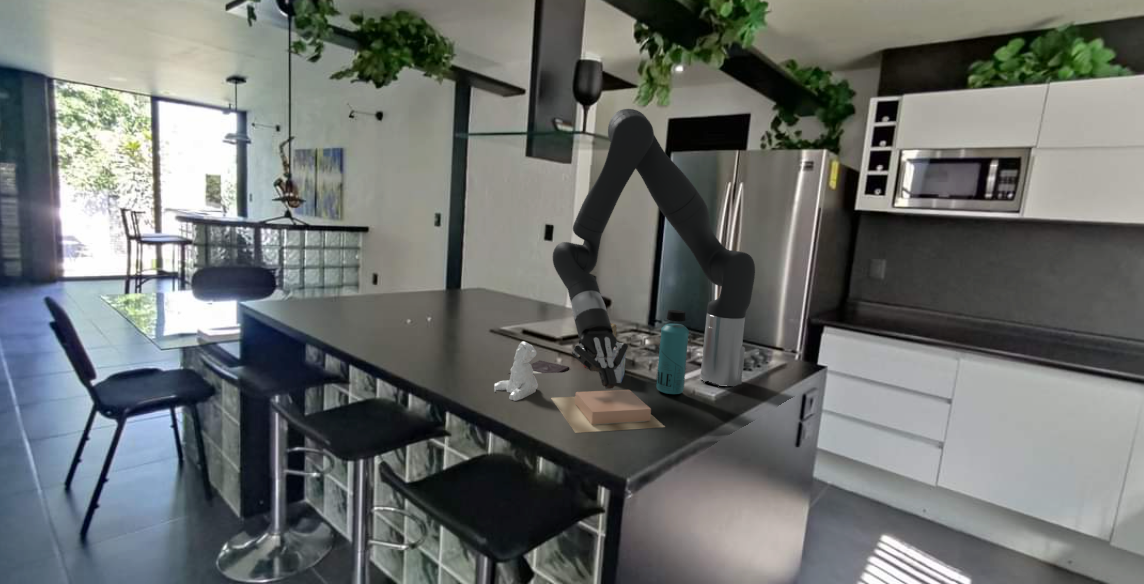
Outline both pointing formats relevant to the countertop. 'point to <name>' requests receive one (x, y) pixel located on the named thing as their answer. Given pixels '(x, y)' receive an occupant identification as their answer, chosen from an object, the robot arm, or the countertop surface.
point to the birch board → (583, 424)
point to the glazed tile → (612, 407)
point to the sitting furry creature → (520, 374)
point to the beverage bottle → (672, 355)
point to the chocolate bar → (547, 367)
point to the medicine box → (619, 367)
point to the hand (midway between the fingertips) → (610, 386)
